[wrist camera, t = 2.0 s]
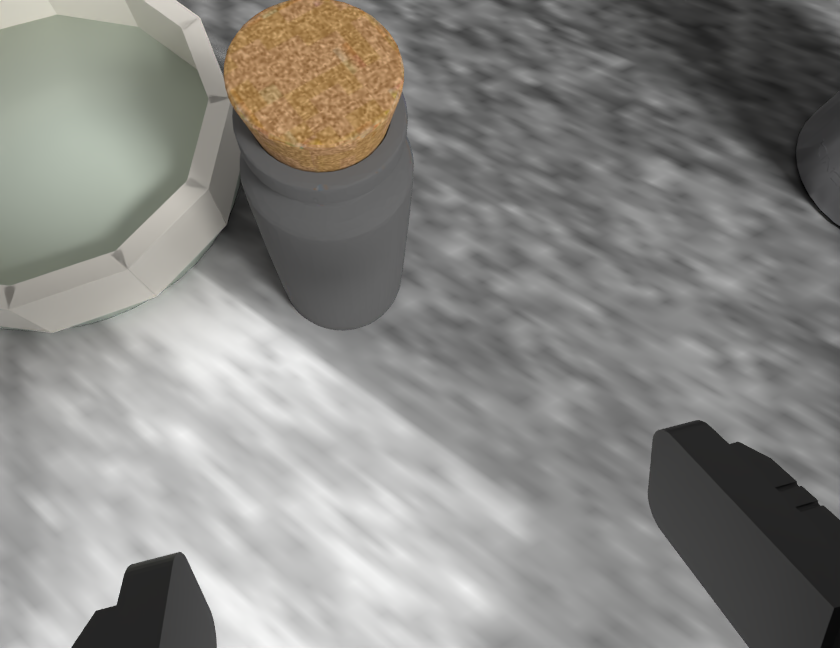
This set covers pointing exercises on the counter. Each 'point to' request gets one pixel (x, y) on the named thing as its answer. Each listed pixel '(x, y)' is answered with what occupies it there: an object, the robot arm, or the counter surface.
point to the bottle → (324, 154)
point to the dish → (106, 156)
